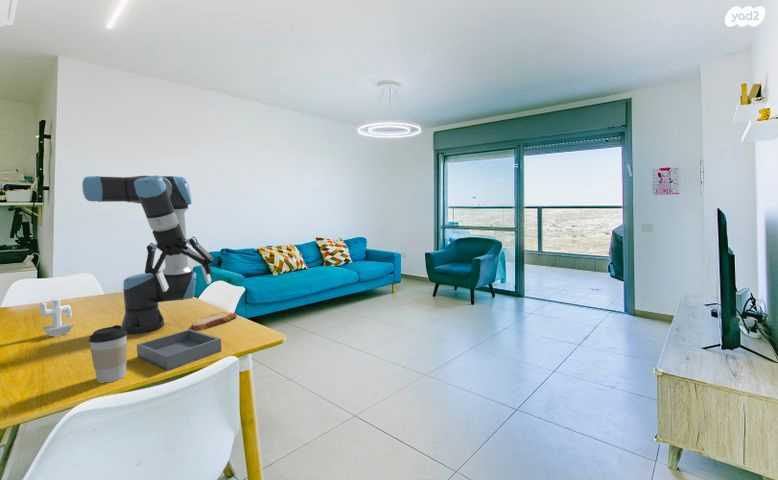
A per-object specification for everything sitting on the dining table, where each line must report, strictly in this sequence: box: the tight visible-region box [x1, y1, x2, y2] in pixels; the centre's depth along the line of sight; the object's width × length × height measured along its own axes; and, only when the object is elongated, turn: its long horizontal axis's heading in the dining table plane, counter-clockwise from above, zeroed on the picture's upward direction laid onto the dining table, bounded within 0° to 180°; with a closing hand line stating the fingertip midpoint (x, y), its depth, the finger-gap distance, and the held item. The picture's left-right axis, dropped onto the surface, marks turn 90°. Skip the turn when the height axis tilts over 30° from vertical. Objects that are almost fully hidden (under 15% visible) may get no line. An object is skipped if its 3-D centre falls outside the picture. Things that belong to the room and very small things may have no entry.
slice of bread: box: [190, 311, 238, 332], centre depth 157 cm, size 18×18×4 cm
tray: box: [136, 328, 223, 372], centre depth 122 cm, size 20×18×4 cm
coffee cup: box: [88, 324, 128, 383], centre depth 105 cm, size 9×9×15 cm
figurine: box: [39, 298, 74, 337], centre depth 143 cm, size 7×9×15 cm
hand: (187, 286), depth 117 cm, fingers open, 13 cm apart
